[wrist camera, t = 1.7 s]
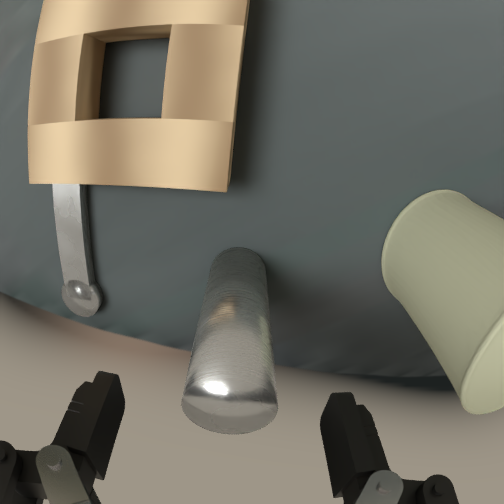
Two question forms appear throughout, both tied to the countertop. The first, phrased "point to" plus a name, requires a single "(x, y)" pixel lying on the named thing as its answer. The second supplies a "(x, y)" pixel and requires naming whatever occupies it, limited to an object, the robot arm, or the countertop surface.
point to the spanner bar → (76, 249)
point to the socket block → (136, 129)
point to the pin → (233, 349)
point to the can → (453, 289)
